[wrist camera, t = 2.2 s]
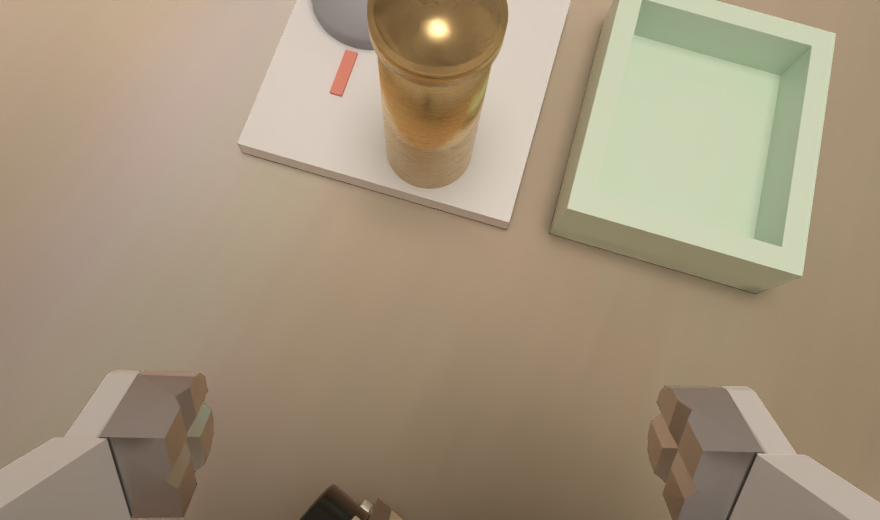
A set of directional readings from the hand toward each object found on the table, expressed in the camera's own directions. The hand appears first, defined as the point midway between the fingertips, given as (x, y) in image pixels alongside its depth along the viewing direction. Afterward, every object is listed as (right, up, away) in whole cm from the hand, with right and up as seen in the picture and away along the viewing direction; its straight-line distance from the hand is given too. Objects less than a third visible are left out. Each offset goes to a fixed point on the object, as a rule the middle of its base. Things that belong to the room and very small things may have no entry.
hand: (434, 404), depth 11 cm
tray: (+12, +8, +19) cm, 24 cm away
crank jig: (-1, +12, +20) cm, 23 cm away
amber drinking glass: (0, +8, +18) cm, 19 cm away
